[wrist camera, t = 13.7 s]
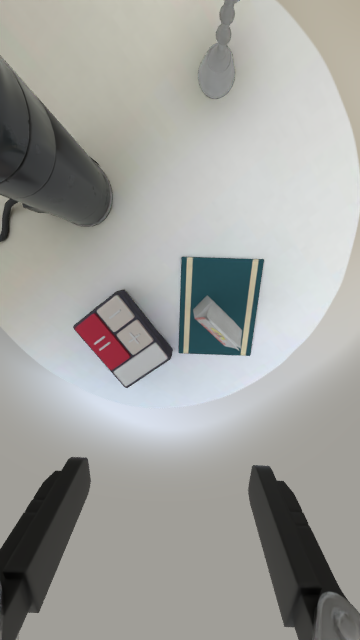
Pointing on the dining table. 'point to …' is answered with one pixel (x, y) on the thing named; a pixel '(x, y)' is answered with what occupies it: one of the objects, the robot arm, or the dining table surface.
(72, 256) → the dining table surface
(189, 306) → the cloth
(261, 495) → the robot arm
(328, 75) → the dining table surface
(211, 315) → the white gable top carton
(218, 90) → the chalice
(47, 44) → the dining table surface
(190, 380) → the dining table surface
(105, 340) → the calculator
